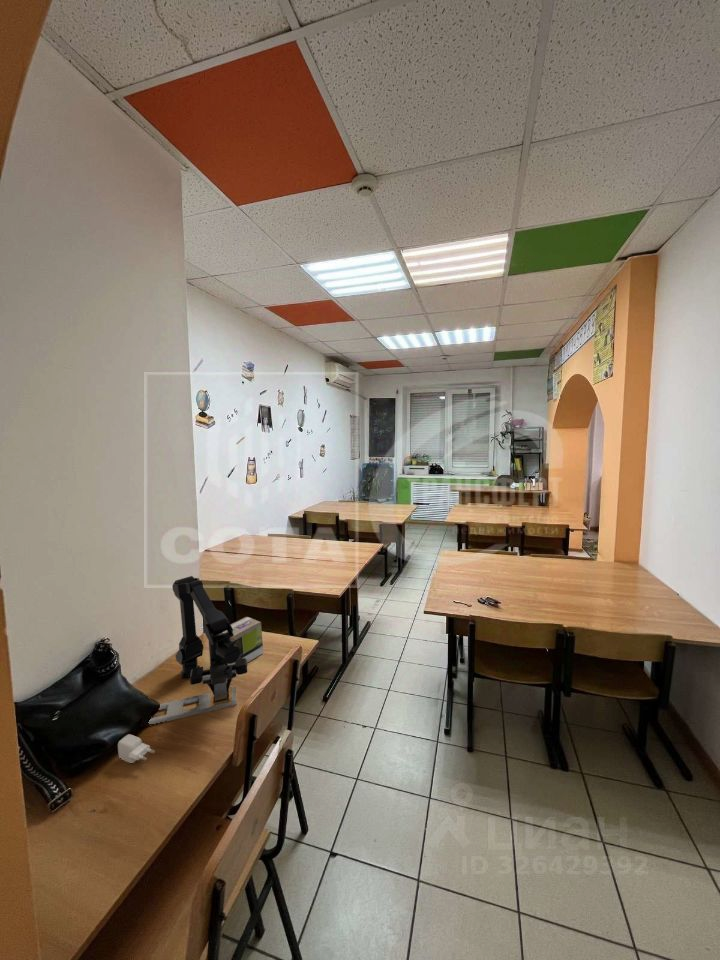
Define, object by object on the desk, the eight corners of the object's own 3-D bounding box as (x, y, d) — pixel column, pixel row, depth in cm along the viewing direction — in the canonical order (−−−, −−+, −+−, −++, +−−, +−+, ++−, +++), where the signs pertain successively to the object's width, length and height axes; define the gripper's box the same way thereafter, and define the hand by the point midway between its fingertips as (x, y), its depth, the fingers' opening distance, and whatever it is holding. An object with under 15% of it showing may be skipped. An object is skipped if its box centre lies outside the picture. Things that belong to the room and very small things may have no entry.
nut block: (215, 697, 136) (214, 679, 135) (227, 694, 138) (226, 676, 137) (215, 704, 133) (213, 685, 132) (227, 701, 134) (226, 683, 133)
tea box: (249, 646, 170) (247, 615, 169) (263, 653, 164) (262, 621, 163) (219, 663, 158) (217, 629, 156) (234, 671, 152) (232, 636, 151)
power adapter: (158, 759, 111) (156, 741, 110) (143, 773, 106) (141, 754, 106) (131, 748, 115) (130, 731, 114) (116, 761, 111) (114, 743, 110)
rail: (145, 711, 131) (144, 706, 131) (235, 690, 141) (235, 686, 140) (140, 727, 123) (139, 723, 123) (236, 704, 133) (236, 700, 133)
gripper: (187, 671, 122) (190, 715, 124) (246, 658, 129) (249, 701, 130) (190, 652, 133) (193, 693, 135) (245, 642, 139) (247, 681, 141)
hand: (220, 692), depth 135 cm, fingers closed on nut block, 4 cm apart
